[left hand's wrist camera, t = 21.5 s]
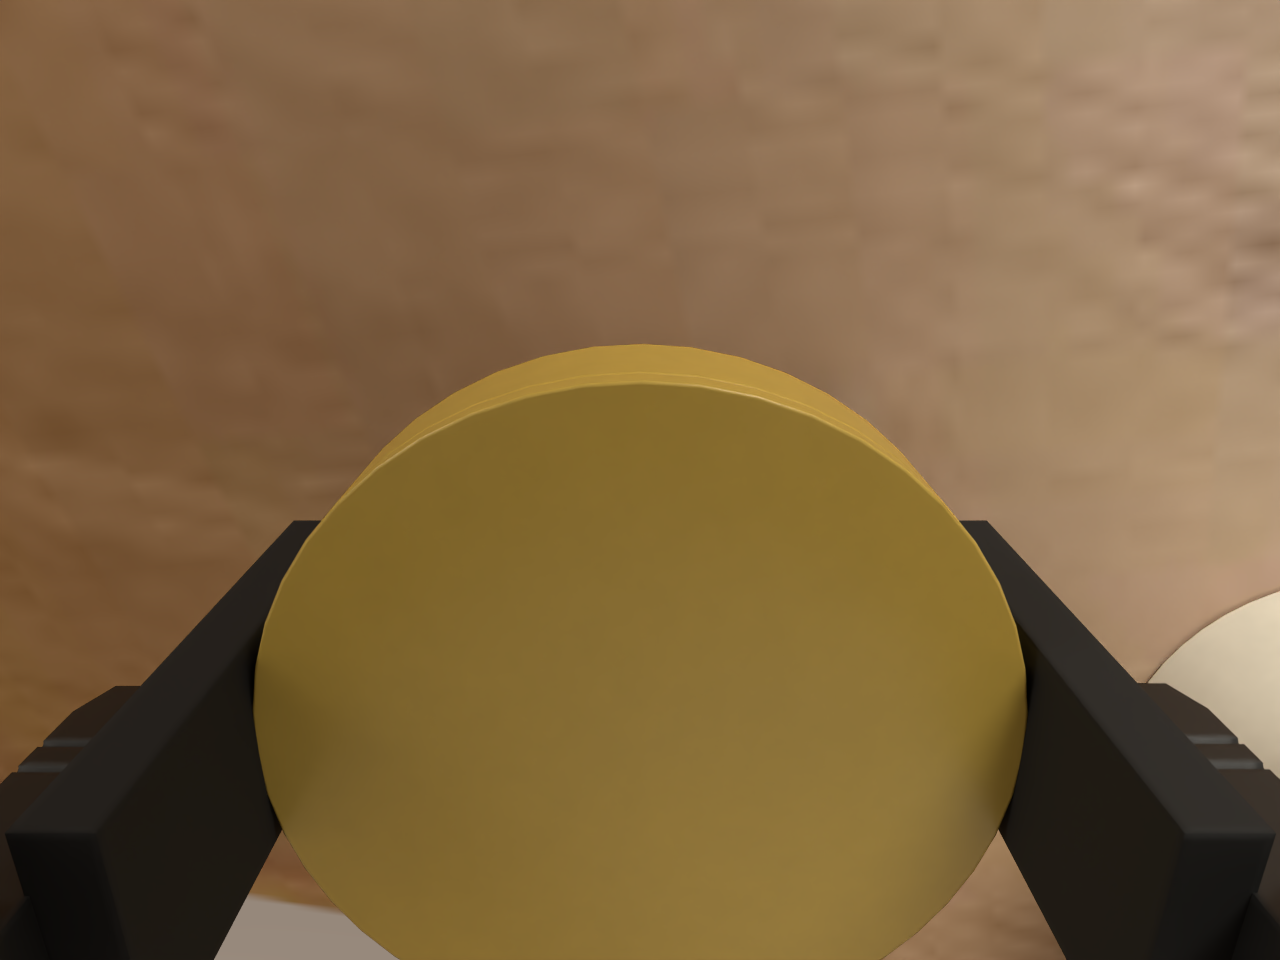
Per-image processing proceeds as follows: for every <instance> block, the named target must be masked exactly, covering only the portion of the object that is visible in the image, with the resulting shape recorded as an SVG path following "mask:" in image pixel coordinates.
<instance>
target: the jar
mask: <svg viewBox="0 0 1280 960" xmlns="http://www.w3.org/2000/svg"><path fill="white" fill-rule="evenodd" d="M1148 683H1166V684H1168V685H1170V686H1171V687H1173V688H1175V689H1176V690H1178V691H1180V692H1181V693H1183V694H1185V695H1186V696H1188V697H1190V698H1191V699H1193V700H1195V701H1196V702H1198V703H1200V704H1202V705H1203V706H1205V707H1207V708H1208V709H1209V710H1210V711H1211V712H1212V713H1213V714H1214V715H1215V716H1216V717H1217V718H1218V719H1219V720H1220V721H1221V722H1222V723H1223V724H1224V725H1225V726H1226V727H1227V728H1228V729H1229V730H1230V731H1231V732H1233V733H1234V734H1235V735H1236V736H1237V737H1238V742H1239V744H1245V745H1246V746H1247V747H1248V748H1249V749H1250V750H1251V751H1252V752H1253V753H1254V754H1255V755H1256V756H1257V757H1258V758H1259V759H1260V760H1261V761H1262V762H1263V767H1264V769H1270V770H1271V771H1272V772H1273V773H1274V774H1275V775H1276V776H1277V777H1278V778H1279V779H1280V591H1279V592H1275V593H1273V594H1270V595H1267V596H1265V597H1262V598H1260V599H1257V600H1254V601H1252V602H1249V603H1247V604H1245V605H1243V606H1241V607H1239V608H1237V609H1235V610H1233V611H1231V612H1229V613H1227V614H1225V615H1224V616H1222V617H1221V618H1219V619H1218V620H1216V621H1214V622H1213V623H1211V624H1210V625H1208V626H1206V627H1205V628H1203V629H1202V630H1201V631H1199V632H1198V633H1197V634H1195V635H1194V636H1193V637H1192V638H1190V639H1189V640H1188V641H1187V642H1185V643H1184V644H1183V645H1182V646H1181V647H1180V648H1178V649H1177V650H1176V651H1175V652H1174V653H1173V654H1172V655H1171V656H1170V657H1169V658H1168V659H1167V660H1166V661H1165V662H1164V663H1163V664H1162V666H1161V667H1160V668H1159V669H1158V670H1157V672H1156V673H1155V674H1154V675H1153V676H1152V678H1151V679H1150V680H1149V681H1148Z"/></svg>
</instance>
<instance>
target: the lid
mask: <svg viewBox="0 0 1280 960" xmlns="http://www.w3.org/2000/svg"><path fill="white" fill-rule="evenodd" d="M1027 715H1028V710H1027V689H1026V669H1025V665H1024V660H1023V655H1022V650H1021V646H1020V641H1019V636H1018V632H1017V627H1016V624H1015V621H1014V619H1013V616H1012V613H1011V611H1010V608H1009V606H1008V603H1007V601H1006V598H1005V595H1004V593H1003V590H1002V588H1001V585H1000V583H999V581H998V579H997V578H996V576H995V574H994V572H993V571H992V569H991V567H990V565H989V564H988V562H987V560H986V559H985V557H984V555H983V553H982V552H981V550H980V548H979V547H978V545H977V543H976V542H975V540H974V539H973V538H972V537H971V535H970V534H969V533H968V532H967V530H966V529H965V528H964V527H963V525H962V524H961V523H960V522H959V521H958V519H957V518H956V517H955V516H954V514H953V513H952V512H951V511H950V509H949V508H948V507H947V506H946V504H945V503H944V502H943V501H942V500H941V499H940V497H939V496H938V495H937V494H936V493H935V492H934V490H933V489H932V488H931V487H930V486H929V484H928V483H927V482H926V481H925V480H924V479H923V477H922V476H921V475H920V474H919V473H918V472H917V470H916V469H915V468H914V467H913V466H912V465H911V463H910V462H909V461H908V460H907V459H906V457H905V456H904V455H903V454H902V453H901V452H900V451H899V450H898V449H897V448H896V447H895V446H894V445H893V444H892V443H891V442H890V441H889V440H887V439H886V438H885V437H884V436H883V435H882V434H881V433H880V432H879V431H878V430H877V429H876V428H874V427H873V426H872V425H871V424H870V423H869V422H868V421H867V420H865V419H864V418H862V417H861V416H860V415H858V414H857V413H855V412H854V411H852V410H851V409H849V408H848V407H846V406H845V405H844V404H842V403H841V402H839V401H838V400H836V399H835V398H833V397H832V396H830V395H829V394H827V393H825V392H823V391H821V390H819V389H817V388H815V387H813V386H811V385H809V384H807V383H805V382H803V381H801V380H799V379H797V378H795V377H793V376H791V375H789V374H787V373H785V372H782V371H779V370H776V369H773V368H770V367H767V366H764V365H762V364H759V363H756V362H753V361H750V360H747V359H744V358H741V357H737V356H732V355H727V354H722V353H717V352H712V351H707V350H702V349H697V348H692V347H680V346H665V345H650V344H632V345H615V346H599V347H589V348H584V349H578V350H573V351H568V352H563V353H558V354H553V355H548V356H543V357H540V358H537V359H534V360H531V361H528V362H525V363H522V364H519V365H516V366H513V367H510V368H507V369H504V370H501V371H498V372H495V373H493V374H491V375H489V376H487V377H485V378H483V379H481V380H479V381H477V382H475V383H473V384H471V385H469V386H467V387H465V388H463V389H461V390H459V391H457V392H455V393H453V394H452V395H450V396H449V397H447V398H446V399H444V400H443V401H441V402H440V403H438V404H437V405H435V406H434V407H432V408H431V409H429V410H428V411H426V412H425V413H423V414H422V415H421V416H419V417H418V418H416V419H415V420H414V421H413V422H412V423H410V424H409V425H408V426H407V427H406V428H405V429H404V430H403V431H402V432H400V433H399V434H398V435H397V436H396V437H395V438H394V439H393V440H392V441H391V442H389V443H388V444H387V445H386V446H385V447H384V448H383V449H382V450H381V451H380V452H379V453H378V455H377V456H376V457H375V458H374V459H373V460H372V462H371V463H370V464H369V465H368V466H367V467H366V469H365V470H364V471H363V472H362V473H361V474H360V476H359V477H358V478H357V479H356V480H355V481H354V483H353V484H352V485H351V486H350V487H349V488H348V490H347V491H346V492H345V493H344V494H343V495H342V497H341V498H340V499H339V500H338V501H337V502H336V504H335V505H334V506H333V507H332V509H331V510H330V511H329V512H328V513H327V515H326V516H325V517H324V518H323V519H322V521H321V522H320V523H319V524H318V526H317V527H316V528H315V529H314V530H313V532H312V533H311V534H310V535H309V536H308V538H307V539H306V540H305V542H304V544H303V545H302V547H301V549H300V551H299V552H298V554H297V556H296V557H295V559H294V561H293V562H292V564H291V566H290V567H289V569H288V571H287V572H286V574H285V576H284V578H283V579H282V581H281V584H280V586H279V589H278V591H277V594H276V596H275V599H274V601H273V604H272V606H271V609H270V611H269V614H268V616H267V619H266V621H265V625H264V629H263V634H262V638H261V643H260V647H259V652H258V656H257V661H256V665H255V679H254V696H253V719H254V725H255V731H256V737H257V743H258V749H259V755H260V760H261V765H262V770H263V775H264V780H265V785H266V790H267V794H268V797H269V799H270V801H271V804H272V806H273V809H274V811H275V813H276V816H277V818H278V820H279V823H280V825H281V827H282V830H283V832H284V834H285V836H286V837H287V839H288V841H289V842H290V844H291V846H292V847H293V849H294V851H295V852H296V854H297V856H298V857H299V859H300V861H301V862H302V864H303V866H304V867H305V869H306V870H307V871H308V873H309V874H310V875H311V876H312V878H313V879H314V880H315V881H316V883H317V884H318V885H319V887H320V888H321V889H322V890H323V892H324V893H325V894H326V895H327V897H328V898H329V899H330V900H331V902H333V903H334V904H335V905H336V906H337V907H338V908H339V909H340V910H341V911H342V912H343V913H344V914H345V915H346V916H347V917H348V918H349V919H350V920H351V921H352V922H353V923H354V924H355V925H356V926H357V927H358V928H359V929H360V930H361V931H362V932H364V933H365V934H366V935H368V936H369V937H370V938H372V939H373V940H374V941H375V942H377V943H378V944H379V945H381V946H382V947H383V948H384V949H386V950H387V951H388V952H390V953H391V954H392V955H393V956H395V957H396V958H398V959H400V960H881V959H883V958H885V957H886V956H887V955H888V954H890V953H891V952H892V951H894V950H895V949H896V948H898V947H899V946H900V945H902V944H903V943H904V942H906V941H907V940H908V939H909V938H911V937H912V936H913V935H915V934H916V933H917V932H918V931H919V930H920V929H922V928H923V927H924V926H925V925H926V924H927V923H928V922H929V921H930V920H931V919H932V918H933V917H934V916H935V915H936V914H937V913H938V912H939V911H940V910H941V909H942V908H943V907H944V906H945V905H946V904H947V903H948V902H949V901H950V900H951V899H952V897H953V896H954V895H955V894H956V892H957V891H958V890H959V889H960V887H961V886H962V885H963V884H964V882H965V881H966V880H967V879H968V877H969V876H970V875H971V874H972V873H973V871H974V870H975V868H976V867H977V865H978V863H979V862H980V860H981V858H982V857H983V855H984V853H985V852H986V850H987V848H988V847H989V845H990V844H991V842H992V840H993V839H994V837H995V835H996V833H997V831H998V829H999V826H1000V824H1001V822H1002V819H1003V817H1004V815H1005V812H1006V810H1007V808H1008V805H1009V803H1010V801H1011V798H1012V796H1013V792H1014V788H1015V784H1016V780H1017V775H1018V770H1019V765H1020V760H1021V754H1022V749H1023V743H1024V737H1025V731H1026V724H1027Z"/></svg>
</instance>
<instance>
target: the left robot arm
mask: <svg viewBox="0 0 1280 960" xmlns="http://www.w3.org/2000/svg"><path fill="white" fill-rule="evenodd" d="M320 522H321V521H293V522H292V523H291V524H290V525H289V526H288V528H287V529H286V530H285V531H284V532H283V533H282V534H281V535H280V536H279V537H278V538H277V539H276V540H275V542H274V543H273V544H272V545H271V546H270V547H269V548H268V549H267V550H266V551H265V552H264V553H263V555H262V556H261V557H260V558H259V559H258V560H257V561H256V562H255V563H254V564H253V565H252V566H251V567H250V569H249V570H248V571H247V572H246V573H245V574H244V575H243V576H242V577H241V578H240V579H239V580H238V582H237V583H236V584H235V585H234V586H233V587H232V588H231V589H230V590H229V591H228V592H227V593H226V594H225V596H224V597H223V598H222V599H221V600H220V601H219V602H218V603H217V604H216V605H215V606H214V607H213V609H212V610H211V611H210V612H209V613H208V614H207V615H206V616H205V617H204V618H203V619H202V620H201V621H200V623H199V624H198V625H197V626H196V627H195V628H194V629H193V630H192V631H191V632H190V633H189V634H188V635H187V637H186V638H185V639H184V640H183V641H182V642H181V643H180V644H179V645H178V646H177V647H176V648H175V650H174V651H173V652H172V653H171V654H170V655H169V656H168V657H167V658H166V659H165V660H164V661H163V662H162V664H161V665H160V666H159V667H158V668H157V669H156V670H155V671H154V672H153V673H152V674H151V675H150V677H149V678H148V679H147V680H146V681H145V682H144V683H143V684H142V685H141V686H115V687H113V688H112V689H110V690H108V691H107V692H105V693H103V694H102V695H100V696H98V697H97V698H95V699H93V700H92V701H90V702H88V703H86V704H85V705H83V706H81V707H80V708H78V709H76V710H75V711H73V712H72V713H71V714H70V715H69V716H68V717H67V718H66V719H65V720H64V721H63V722H62V723H61V724H60V725H59V726H58V727H57V728H56V729H55V730H54V731H53V732H52V733H51V734H50V735H49V736H48V737H47V738H46V739H45V740H44V744H43V747H37V748H36V749H35V750H34V751H33V752H32V753H31V754H30V755H29V756H28V757H27V758H26V759H25V760H24V761H23V762H22V763H21V764H20V765H19V769H18V772H12V773H11V774H10V775H9V776H8V777H7V778H6V779H5V780H4V781H3V782H2V783H1V784H0V960H214V958H215V956H216V955H217V953H218V951H219V949H220V947H221V945H222V943H223V941H224V939H225V937H226V935H227V934H228V932H229V930H230V928H231V926H232V924H233V922H234V920H235V918H236V916H237V914H238V912H239V911H240V909H241V907H242V905H243V903H244V901H245V899H246V897H247V895H248V893H249V892H250V890H251V888H252V886H253V884H254V882H255V880H256V878H257V876H258V874H259V872H260V871H261V869H262V867H263V865H264V863H265V861H266V859H267V857H268V855H269V853H270V852H271V850H272V848H273V846H274V844H275V842H276V840H277V838H278V836H279V834H280V832H281V831H282V827H281V825H280V823H279V820H278V818H277V816H276V813H275V811H274V809H273V806H272V804H271V801H270V799H269V797H268V794H267V790H266V785H265V780H264V775H263V770H262V765H261V760H260V755H259V749H258V743H257V737H256V731H255V725H254V719H253V696H254V679H255V665H256V661H257V656H258V652H259V647H260V643H261V638H262V634H263V629H264V625H265V621H266V619H267V616H268V614H269V611H270V609H271V606H272V604H273V601H274V599H275V596H276V594H277V591H278V589H279V586H280V584H281V581H282V579H283V578H284V576H285V574H286V572H287V571H288V569H289V567H290V566H291V564H292V562H293V561H294V559H295V557H296V556H297V554H298V552H299V551H300V549H301V547H302V545H303V544H304V542H305V540H306V539H307V538H308V536H309V535H310V534H311V533H312V532H313V530H314V529H315V528H316V527H317V526H318V524H319V523H320ZM959 522H960V523H961V524H962V525H963V527H964V528H965V529H966V530H967V532H968V533H969V534H970V535H971V537H972V538H973V539H974V540H975V542H976V543H977V545H978V547H979V548H980V550H981V552H982V553H983V555H984V557H985V559H986V560H987V562H988V564H989V565H990V567H991V569H992V571H993V572H994V574H995V576H996V578H997V579H998V581H999V583H1000V585H1001V588H1002V590H1003V593H1004V595H1005V598H1006V601H1007V603H1008V606H1009V608H1010V611H1011V613H1012V616H1013V619H1014V621H1015V624H1016V627H1017V632H1018V636H1019V641H1020V646H1021V650H1022V655H1023V660H1024V665H1025V669H1026V689H1027V710H1028V715H1027V724H1026V731H1025V737H1024V743H1023V749H1022V754H1021V760H1020V765H1019V770H1018V775H1017V780H1016V784H1015V788H1014V792H1013V796H1012V798H1011V801H1010V803H1009V805H1008V808H1007V810H1006V812H1005V815H1004V817H1003V819H1002V822H1001V824H1000V826H999V831H1000V833H1001V835H1002V837H1003V839H1004V841H1005V843H1006V845H1007V847H1008V849H1009V850H1010V852H1011V854H1012V856H1013V858H1014V860H1015V862H1016V864H1017V866H1018V868H1019V870H1020V871H1021V873H1022V875H1023V877H1024V879H1025V881H1026V883H1027V885H1028V887H1029V889H1030V890H1031V892H1032V894H1033V896H1034V898H1035V900H1036V902H1037V904H1038V906H1039V908H1040V910H1041V911H1042V913H1043V915H1044V917H1045V919H1046V921H1047V923H1048V925H1049V927H1050V929H1051V931H1052V932H1053V934H1054V936H1055V938H1056V940H1057V942H1058V944H1059V946H1060V948H1061V950H1062V952H1063V953H1064V955H1065V957H1066V959H1067V960H1280V779H1279V778H1278V777H1277V776H1276V775H1275V774H1274V773H1273V772H1272V771H1271V770H1270V769H1264V767H1263V762H1262V761H1261V760H1260V759H1259V758H1258V757H1257V756H1256V755H1255V754H1254V753H1253V752H1252V751H1251V750H1250V749H1249V748H1248V747H1247V746H1246V745H1245V744H1239V742H1238V737H1237V736H1236V735H1235V734H1234V733H1233V732H1231V731H1230V730H1229V729H1228V728H1227V727H1226V726H1225V725H1224V724H1223V723H1222V722H1221V721H1220V720H1219V719H1218V718H1217V717H1216V716H1215V715H1214V714H1213V713H1212V712H1211V711H1210V710H1209V709H1208V708H1207V707H1205V706H1203V705H1202V704H1200V703H1198V702H1196V701H1195V700H1193V699H1191V698H1190V697H1188V696H1186V695H1185V694H1183V693H1181V692H1180V691H1178V690H1176V689H1175V688H1173V687H1171V686H1170V685H1168V684H1166V683H1137V682H1136V681H1135V680H1134V679H1133V678H1132V677H1131V676H1130V675H1129V674H1128V673H1127V672H1126V670H1125V669H1124V668H1123V667H1122V666H1121V665H1120V664H1119V663H1118V662H1117V661H1116V660H1115V659H1114V658H1113V656H1112V655H1111V654H1110V653H1109V652H1108V651H1107V650H1106V649H1105V648H1104V647H1103V646H1102V645H1101V643H1100V642H1099V641H1098V640H1097V639H1096V638H1095V637H1094V636H1093V635H1092V634H1091V633H1090V632H1089V631H1088V629H1087V628H1086V627H1085V626H1084V625H1083V624H1082V623H1081V622H1080V621H1079V620H1078V619H1077V618H1076V616H1075V615H1074V614H1073V613H1072V612H1071V611H1070V610H1069V609H1068V608H1067V607H1066V606H1065V605H1064V604H1063V602H1062V601H1061V600H1060V599H1059V598H1058V597H1057V596H1056V595H1055V594H1054V593H1053V592H1052V591H1051V589H1050V588H1049V587H1048V586H1047V585H1046V584H1045V583H1044V582H1043V581H1042V580H1041V579H1040V578H1039V577H1038V575H1037V574H1036V573H1035V572H1034V571H1033V570H1032V569H1031V568H1030V567H1029V566H1028V565H1027V564H1026V563H1025V561H1024V560H1023V559H1022V558H1021V557H1020V556H1019V555H1018V554H1017V553H1016V552H1015V551H1014V550H1013V548H1012V547H1011V546H1010V545H1009V544H1008V543H1007V542H1006V541H1005V540H1004V539H1003V538H1002V537H1001V536H1000V534H999V533H998V532H997V531H996V530H995V529H994V528H993V527H992V526H991V525H990V524H989V523H988V521H959Z"/></svg>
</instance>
